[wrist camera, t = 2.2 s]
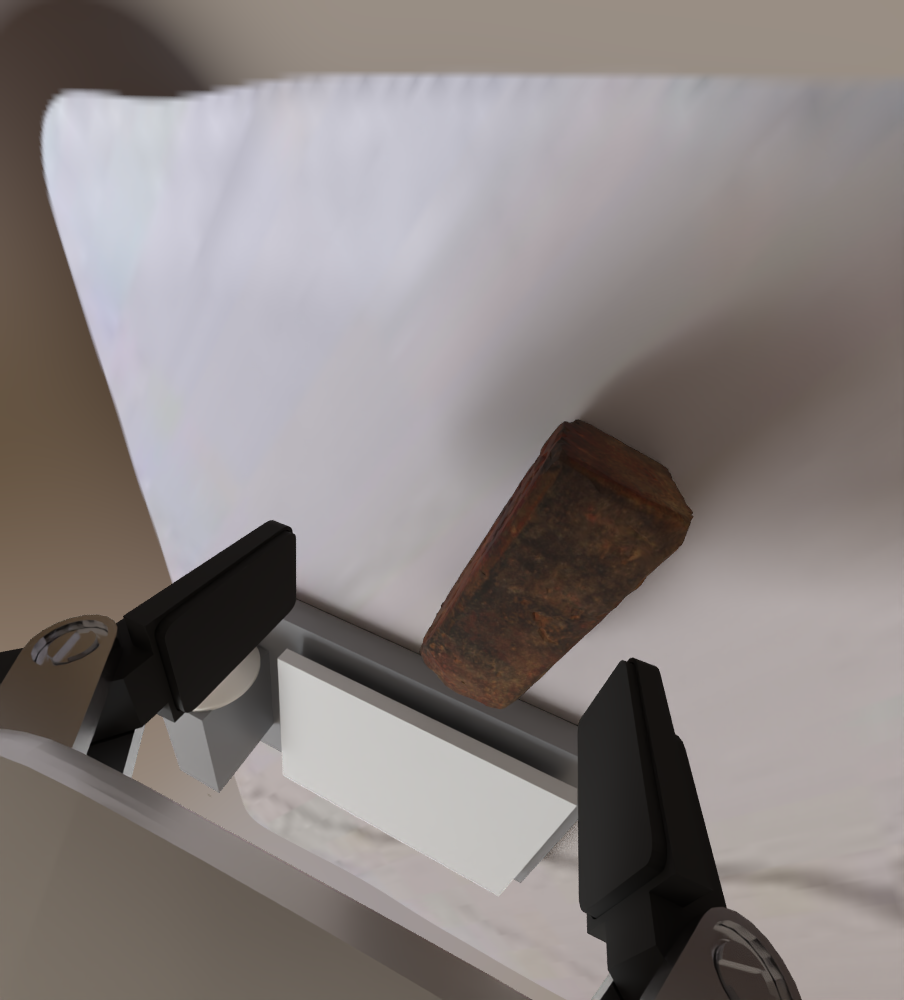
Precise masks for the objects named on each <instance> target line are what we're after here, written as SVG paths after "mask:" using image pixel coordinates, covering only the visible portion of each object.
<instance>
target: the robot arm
mask: <svg viewBox="0 0 904 1000" xmlns="http://www.w3.org/2000/svg"><path fill="white" fill-rule="evenodd" d="M295 602H296V536H295V534H293V532H292V529H291V527H289V526H287V525H284V524H281V523H279V522H276V521H273V520H270V521H268V522H266V523H264V524H263V525H261V526H260V527H258V528H257V529H255V530H254V531H252V532H251V533H249V534H247V535H246V536H244V537H243V538H241V539H240V540H238V541H237V542H235V543H234V544H232V545H231V546H229V547H228V548H226V549H225V550H223V551H222V552H220V553H218V554H217V555H215V556H214V557H212V558H211V559H209V560H208V561H206V562H205V563H203V564H202V565H200V566H199V567H197V568H196V569H194V570H193V571H191V572H189V573H188V574H186V575H185V576H183V577H182V578H180V579H179V580H177V581H176V582H174V583H173V584H171V585H170V586H168V587H167V588H165V589H164V590H162V591H160V592H159V593H157V594H156V595H154V596H153V597H151V598H150V599H148V600H147V601H145V602H144V603H142V604H141V605H139V606H138V607H136V608H135V609H133V610H132V611H130V612H128V613H127V614H126V615H124V616H123V617H124V618H123V619H122V620H120V621H119V622H118V623H115V621H114V620H112V619H111V618H109V617H107V616H102V615H82V616H78V617H73V618H69V619H66V620H63V621H61V622H58V623H56V624H54V625H52V626H50V627H48V628H46V629H44V630H42V631H41V632H40V633H38V634H37V635H36V636H34V637H33V638H32V639H30V641H29V642H28V643H27V644H26V645H25V647H24V648H21V649H16V650H10V651H5V652H0V1000H532V999H530V998H528V997H526V996H524V995H523V994H521V993H519V992H518V991H516V990H514V989H513V988H511V987H509V986H508V985H506V984H504V983H502V982H500V981H499V980H497V979H495V978H494V977H492V976H490V975H489V974H487V973H485V972H483V971H481V970H479V969H478V968H476V967H474V966H472V965H471V964H469V963H467V962H465V961H463V960H462V959H460V958H458V957H456V956H454V955H453V954H451V953H449V952H447V951H445V950H443V949H442V948H440V947H438V946H436V945H435V944H433V943H431V942H429V941H428V940H426V939H424V938H422V937H420V936H419V935H417V934H415V933H413V932H411V931H409V930H408V929H406V928H404V927H402V926H401V925H399V924H397V923H395V922H393V921H392V920H390V919H388V918H386V917H384V916H382V915H381V914H379V913H377V912H375V911H374V910H372V909H370V908H368V907H366V906H365V905H363V904H361V903H359V902H357V901H355V900H354V899H352V898H350V897H348V896H346V895H345V894H343V893H341V892H339V891H337V890H336V889H334V888H332V887H330V886H328V885H326V884H325V883H323V882H321V881H319V880H317V879H316V878H314V877H312V876H310V875H308V874H307V873H305V872H303V871H301V870H299V869H297V868H296V867H294V866H292V865H290V864H288V863H287V862H285V861H283V860H281V859H279V858H277V857H276V856H274V855H272V854H270V853H268V852H266V851H265V850H263V849H261V848H259V847H257V846H255V845H254V844H252V843H250V842H248V841H247V840H245V839H243V838H241V837H239V836H237V835H236V834H234V833H232V832H230V831H228V830H226V829H225V828H223V827H221V826H219V825H217V824H215V823H214V822H212V821H210V820H208V819H206V818H204V817H202V816H201V815H199V814H197V813H195V812H193V811H191V810H190V809H188V808H186V807H184V806H182V805H180V804H179V803H177V802H175V801H173V800H171V799H169V798H167V797H165V796H164V795H162V794H160V793H158V792H156V791H155V790H153V789H151V788H149V787H147V786H145V785H143V784H142V783H140V782H138V781H136V780H134V779H132V778H131V777H132V773H133V770H134V765H135V762H136V758H137V754H138V750H139V746H140V743H141V739H142V734H143V731H144V727H145V724H146V723H147V722H148V721H149V720H150V719H151V718H153V717H154V716H155V715H156V714H158V715H160V716H162V717H164V718H166V719H168V720H170V721H172V722H174V723H175V722H176V721H177V720H178V719H179V718H180V717H181V716H182V715H183V714H184V713H189V712H192V711H193V710H195V709H196V708H197V707H198V706H199V705H200V704H201V703H202V702H203V701H204V700H205V699H206V698H207V697H208V696H209V695H210V694H211V693H212V692H213V691H214V689H215V688H216V687H217V686H218V685H219V684H220V683H221V682H222V681H223V680H224V679H225V678H226V677H227V676H228V675H229V674H230V673H231V672H232V671H233V670H234V669H235V668H236V667H237V666H238V665H239V664H240V663H241V662H242V661H243V660H244V659H245V658H246V657H247V656H248V655H249V654H250V653H251V652H252V650H253V649H254V648H255V647H256V646H257V645H258V644H259V643H260V642H261V641H262V640H263V639H264V638H265V637H266V636H267V635H268V634H269V633H270V632H271V631H272V630H273V629H274V628H275V627H276V626H277V625H278V624H279V623H280V622H281V621H282V620H283V619H284V618H285V617H286V616H287V615H288V614H289V613H290V611H291V610H292V609H293V607H294V605H295ZM577 738H578V858H579V903H580V907H581V910H582V911H583V912H585V913H587V933H588V934H590V935H592V936H594V937H596V938H598V939H600V940H602V941H604V942H606V944H607V964H608V971H609V975H608V976H607V978H606V979H605V980H604V982H603V983H602V985H601V986H600V988H599V989H598V991H597V992H596V993H595V995H594V996H593V998H592V999H591V1000H802V999H801V996H800V994H799V991H798V989H797V986H796V983H795V981H794V980H793V978H792V976H791V974H790V972H789V971H788V969H787V967H786V965H785V963H784V961H783V960H782V958H781V957H780V955H779V954H778V953H777V951H776V950H775V949H774V947H773V946H772V944H771V943H770V942H769V940H768V939H767V938H766V937H765V936H764V935H763V934H762V933H761V932H760V931H759V930H758V929H757V928H756V927H755V925H754V924H753V923H752V922H750V921H749V920H747V919H746V918H745V917H743V916H742V915H740V914H739V913H738V912H736V911H733V910H730V909H728V908H727V907H726V903H725V899H724V895H723V892H722V888H721V884H720V880H719V876H718V872H717V868H716V865H715V861H714V857H713V853H712V849H711V845H710V842H709V838H708V834H707V830H706V826H705V822H704V818H703V815H702V811H701V807H700V803H699V799H698V795H697V792H696V788H695V784H694V780H693V776H692V772H691V768H690V765H689V761H688V757H687V753H686V750H685V747H684V744H683V742H682V740H681V739H680V738H679V736H677V735H675V732H674V728H673V724H672V720H671V716H670V711H669V707H668V703H667V699H666V695H665V691H664V687H663V683H662V679H661V675H660V671H659V669H658V668H657V667H656V666H654V665H651V664H648V663H646V662H643V661H640V660H638V659H635V658H630V659H629V660H628V661H627V662H626V661H624V660H622V661H620V662H619V664H618V665H617V667H616V668H615V670H614V671H613V672H612V674H611V675H610V677H609V678H608V680H607V681H606V683H605V684H604V686H603V687H602V688H601V690H600V691H599V693H598V694H597V696H596V697H595V699H594V700H593V702H592V703H591V704H590V706H589V707H588V709H587V710H586V712H585V713H584V715H583V716H582V718H581V719H580V722H579V726H578V734H577Z"/></svg>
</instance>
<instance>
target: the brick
mask: <svg viewBox="0 0 904 1000" xmlns="http://www.w3.org/2000/svg"><path fill="white" fill-rule="evenodd" d="M692 513H693V512H692V511H691V509H690V508H689V507H688V506H687V505H686V503H685V500H684V498H683V496H682V495H681V493H680V491H679V490H678V488H677V486H676V484H675V482H674V481H673V480H672V476H671V474H670V473H669V472H668V469H667V468H666V467H664V466H663V465H661V464H660V463H658V462H656V461H654V460H653V459H651V458H649V457H647V456H645V455H644V454H642V453H640V452H638V451H636V450H634V449H633V448H631V447H629V446H627V445H625V444H624V443H622V442H621V441H619V440H617V439H616V438H614V437H612V436H610V435H608V434H606V433H604V432H602V431H601V430H599V429H597V428H595V427H594V426H592V425H590V424H588V423H585V422H583V421H580V420H575V421H574V422H571V423H569V422H566V421H564V422H563V423H562V424H560V425H559V426H558V427H557V429H556V430H555V431H554V432H553V434H552V435H551V436H550V438H549V439H548V440H547V441H546V443H545V444H544V446H543V447H542V449H541V452H540V455H539V457H538V458H537V460H536V461H535V463H534V464H533V465H532V466H531V467H530V469H529V470H528V472H527V473H526V475H525V477H524V478H523V479H522V481H521V482H520V484H519V485H518V487H517V489H516V490H515V492H514V494H513V496H512V497H511V498H510V500H509V501H508V503H507V504H506V505H505V507H504V508H503V510H502V512H501V513H500V515H499V516H498V518H497V519H496V521H495V522H494V524H493V526H492V527H491V529H490V531H489V532H488V534H487V536H486V537H485V538H484V540H483V541H482V543H481V544H480V546H479V548H478V549H477V551H476V552H475V554H474V555H473V557H472V558H471V560H470V561H469V563H468V564H467V566H466V567H465V569H464V570H463V572H462V573H461V575H460V577H459V578H458V580H457V582H456V583H455V585H454V586H453V588H452V589H451V591H450V593H449V594H448V596H447V598H446V600H445V601H444V602H443V603H442V605H441V609H440V610H439V612H438V613H437V615H436V617H435V619H434V621H433V623H432V625H431V627H430V628H429V629H428V631H427V633H426V635H425V637H424V639H423V644H422V645H421V647H420V654H421V656H422V658H423V660H424V663H425V665H426V666H427V667H428V668H429V669H431V670H433V671H434V673H435V674H437V675H438V678H439V679H440V680H441V681H442V682H443V683H444V685H445V686H447V687H448V688H450V689H451V690H453V691H454V692H456V693H458V694H460V695H462V696H465V697H468V698H470V699H473V700H476V701H478V702H480V703H482V704H484V705H485V706H487V707H491V708H496V709H504V708H506V707H507V706H509V705H510V704H512V703H513V702H514V701H516V700H517V699H518V698H519V697H520V696H521V695H522V694H524V693H525V692H526V691H527V690H528V689H529V688H530V687H531V686H532V685H533V684H534V683H536V682H537V681H538V680H539V679H540V678H541V677H542V676H543V675H544V674H545V673H546V672H547V671H548V670H549V669H550V668H551V667H552V666H553V665H554V664H555V663H556V662H557V661H559V660H560V659H561V658H562V657H563V656H564V655H565V654H566V653H567V652H568V651H569V650H570V649H571V648H572V647H573V646H575V645H576V644H577V643H578V642H579V641H580V640H581V639H582V638H583V637H584V636H585V635H586V634H587V633H589V632H590V631H591V630H592V629H593V628H594V627H595V626H596V625H597V624H599V623H600V622H601V621H602V620H603V619H604V618H605V616H606V615H607V614H608V613H609V612H610V611H612V610H613V609H614V608H616V607H617V606H618V605H619V603H620V602H621V601H622V600H623V599H624V598H625V597H626V596H627V595H628V594H629V593H631V592H632V591H634V590H636V589H637V588H638V587H639V586H641V585H642V583H643V582H644V580H645V579H646V577H647V576H648V575H649V574H650V573H651V572H652V571H653V570H655V569H656V568H657V567H658V566H659V565H660V564H661V563H662V562H664V561H665V560H666V559H667V558H668V557H669V556H671V555H672V554H673V553H674V552H675V551H676V550H677V549H678V548H679V547H680V546H681V545H682V543H683V541H684V538H685V536H686V533H687V530H688V528H689V526H690V524H691V522H690V521H691V520H692V518H693V516H692V515H691V514H692Z"/></svg>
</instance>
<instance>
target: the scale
mask: <svg viewBox="0 0 904 1000" xmlns="http://www.w3.org/2000/svg"><path fill="white" fill-rule="evenodd" d="M163 719H164V722H165V725H166V728H167V731H168V734H169V737H170V740H171V743H172V746H173V749H174V752H175V755H176V758H177V761H178V764H179V767H180V770H181V771H183V772H185V773H186V774H188V775H190V776H192V777H193V778H195V779H197V780H198V781H200V782H202V783H203V784H205V785H207V786H208V787H210V788H212V789H213V790H215V791H217V792H219V793H220V791H221V790H222V789H223V787H224V786H225V785H226V784H227V782H228V781H229V780H230V779H231V777H232V776H233V775H234V773H235V772H236V771H237V770H238V768H239V767H240V766H241V764H242V763H243V762H244V761H245V759H246V758H247V757H248V756H249V754H250V753H251V752H252V750H253V749H254V748H255V747H256V745H257V744H258V743H259V742H260V741H262V742H264V743H266V744H268V745H269V746H271V747H273V748H275V749H277V750H278V751H280V752H282V769H283V776H284V777H286V778H288V779H290V780H291V781H293V782H295V783H297V784H299V785H300V786H302V787H304V788H306V789H307V790H309V791H311V792H313V793H315V794H316V795H318V796H320V797H322V798H323V799H325V800H327V801H329V802H331V803H332V804H334V805H336V806H338V807H340V808H341V809H343V810H345V811H347V812H348V813H350V814H352V815H354V816H356V817H357V818H359V819H361V820H363V821H364V822H366V823H368V824H370V825H372V826H373V827H375V828H377V829H379V830H381V831H382V832H384V833H386V834H388V835H389V836H391V837H393V838H395V839H397V840H398V841H400V842H402V843H404V844H405V845H407V846H409V847H411V848H413V849H414V850H416V851H418V852H420V853H422V854H423V855H425V856H427V857H429V858H430V859H432V860H434V861H436V862H438V863H439V864H441V865H443V866H445V867H446V868H448V869H450V870H452V871H454V872H455V873H457V874H459V875H461V876H462V877H464V878H466V879H468V880H470V881H471V882H473V883H475V884H477V885H479V886H480V887H482V888H484V889H486V890H487V891H489V892H491V893H493V894H495V895H496V896H498V897H499V896H500V895H501V893H502V892H503V891H504V890H505V889H506V888H507V886H508V885H509V884H510V883H511V882H512V881H513V879H514V880H516V881H518V882H520V883H521V882H522V881H523V880H524V879H525V878H526V877H527V875H528V874H529V873H530V872H531V871H532V870H533V869H534V868H535V867H536V866H537V864H538V863H539V862H540V861H541V860H542V859H543V858H544V857H545V856H546V854H547V853H548V852H549V851H550V850H551V849H552V848H553V847H554V846H555V844H556V843H557V842H558V841H559V840H560V839H561V838H562V837H563V836H564V834H565V833H566V832H567V831H568V830H569V829H570V828H571V827H572V826H573V825H574V823H575V822H576V821H577V820H578V738H577V734H578V726H576V725H574V724H572V723H569V722H567V721H565V720H563V719H561V718H558V717H556V716H554V715H552V714H550V713H547V712H545V711H543V710H541V709H538V708H536V707H534V706H532V705H530V704H527V703H525V702H523V701H521V700H518V699H517V700H516V701H514V702H513V703H512V704H510V705H509V706H507V707H506V708H504V709H496V708H491V707H487V706H485V705H484V704H482V703H480V702H478V701H476V700H473V699H470V698H468V697H465V696H462V695H460V694H458V693H456V692H454V691H453V690H451V689H450V688H448V687H447V686H445V685H444V683H443V682H442V681H441V680H440V679H439V678H438V675H437V674H435V673H434V671H433V670H431V669H429V668H428V667H427V666H426V665H425V663H424V660H423V658H422V656H421V655H419V654H416V653H414V652H412V651H410V650H408V649H405V648H403V647H401V646H399V645H397V644H394V643H392V642H390V641H388V640H385V639H383V638H381V637H379V636H377V635H374V634H372V633H370V632H368V631H365V630H363V629H361V628H359V627H357V626H354V625H352V624H350V623H348V622H346V621H343V620H341V619H339V618H337V617H334V616H332V615H330V614H328V613H326V612H323V611H321V610H319V609H317V608H314V607H312V606H310V605H308V604H306V603H303V602H301V601H299V600H297V599H296V602H295V605H294V607H293V609H292V610H291V611H290V613H289V614H288V615H287V616H286V617H285V618H284V619H283V620H282V621H281V622H280V623H279V624H278V625H277V626H276V627H275V628H274V629H273V630H272V631H271V632H270V633H269V634H268V635H267V636H266V637H265V638H264V639H263V640H262V641H261V642H260V643H259V644H258V645H257V646H256V647H255V648H254V649H253V650H252V652H251V653H250V654H249V655H248V656H247V657H246V658H245V659H244V660H243V661H242V662H241V663H240V664H239V665H238V666H237V667H236V668H235V669H234V670H233V671H232V672H231V673H230V674H229V675H228V676H227V677H226V678H225V679H224V680H223V681H222V682H221V683H220V684H219V685H218V686H217V687H216V688H215V689H214V691H213V692H212V693H211V694H210V695H209V696H208V697H207V698H206V699H205V700H204V701H203V702H202V703H201V704H200V705H199V706H198V707H197V708H196V709H195V710H193V711H192V712H189V713H184V714H183V715H182V716H181V717H180V718H179V719H178V720H177V721H176V722H175V723H174V722H172V721H170V720H168V719H166V718H164V717H163Z"/></svg>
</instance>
